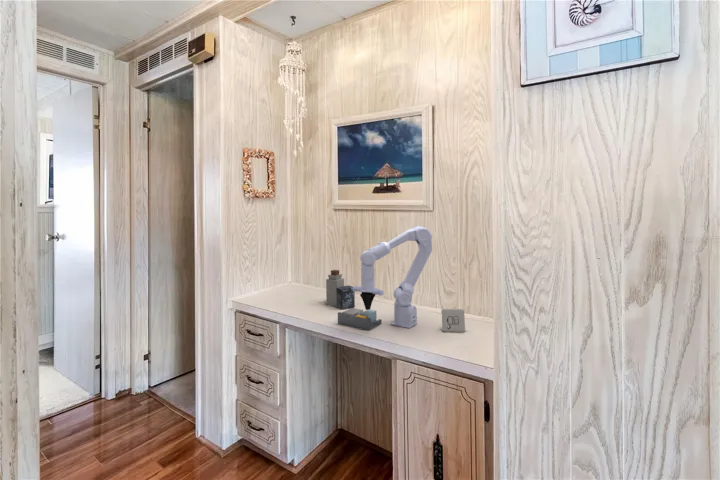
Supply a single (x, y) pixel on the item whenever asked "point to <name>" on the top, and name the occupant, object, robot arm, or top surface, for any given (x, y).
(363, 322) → the rack bay
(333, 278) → the perfume bottle
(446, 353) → the top surface
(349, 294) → the box
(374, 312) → the pale blue tall block
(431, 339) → the top surface
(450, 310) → the electrical switch
